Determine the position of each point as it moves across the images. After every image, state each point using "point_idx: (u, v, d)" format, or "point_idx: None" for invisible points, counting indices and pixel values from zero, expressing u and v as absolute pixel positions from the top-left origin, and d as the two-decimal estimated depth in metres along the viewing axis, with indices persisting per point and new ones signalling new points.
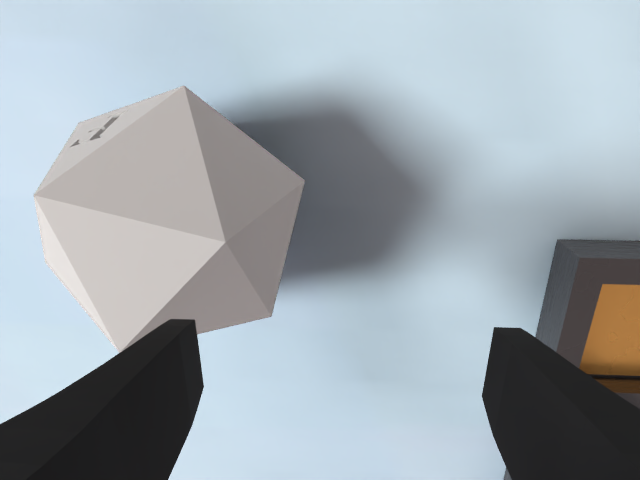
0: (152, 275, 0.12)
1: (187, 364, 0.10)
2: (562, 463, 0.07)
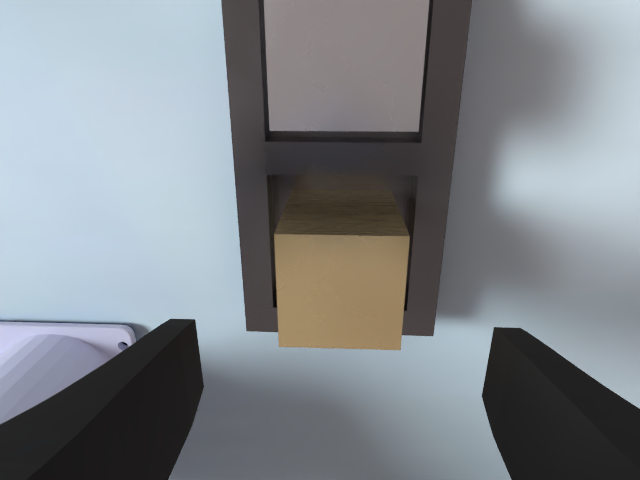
0: None
1: (187, 364, 0.10)
2: (562, 463, 0.07)
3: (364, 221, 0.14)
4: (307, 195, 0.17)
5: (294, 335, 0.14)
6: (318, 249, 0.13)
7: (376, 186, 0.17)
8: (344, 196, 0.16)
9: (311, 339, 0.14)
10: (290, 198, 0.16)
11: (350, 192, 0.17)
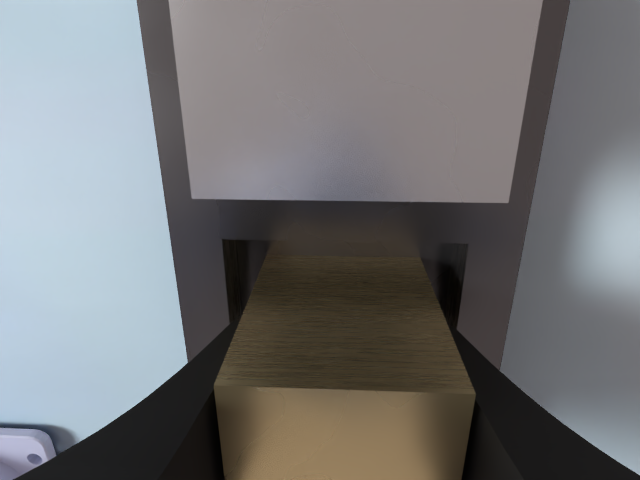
0: None
1: None
2: (469, 459, 0.07)
3: (385, 341, 0.08)
4: (289, 268, 0.10)
5: None
6: (299, 412, 0.07)
7: (397, 250, 0.11)
8: (347, 270, 0.10)
9: None
10: (261, 276, 0.10)
11: (356, 261, 0.11)
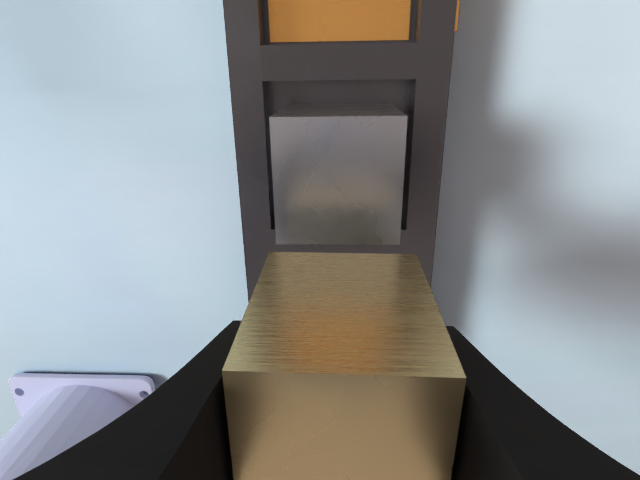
0: None
1: None
2: (469, 459, 0.07)
3: (381, 330, 0.08)
4: (290, 264, 0.11)
5: None
6: (302, 396, 0.07)
7: None
8: (346, 266, 0.11)
9: None
10: (264, 271, 0.11)
11: (355, 257, 0.11)
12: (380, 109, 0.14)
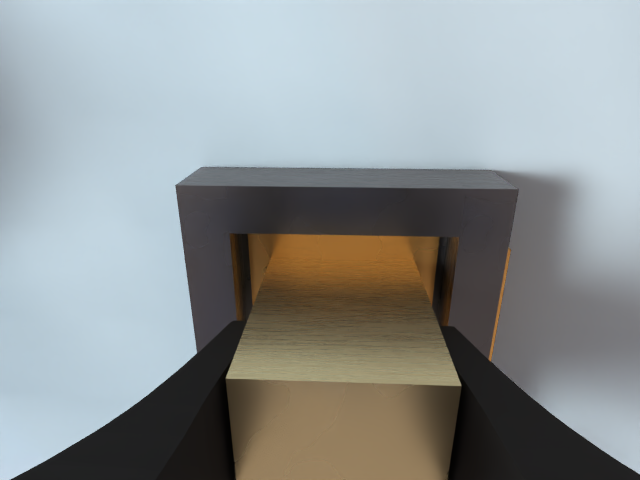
0: None
1: None
2: (470, 459, 0.07)
3: (380, 338, 0.08)
4: (291, 271, 0.11)
5: None
6: (302, 402, 0.07)
7: None
8: (346, 274, 0.11)
9: None
10: (265, 279, 0.11)
11: (355, 264, 0.12)
12: None
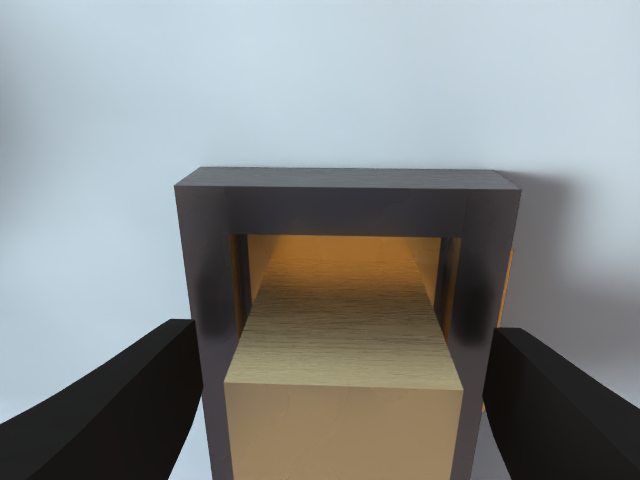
0: None
1: (187, 364, 0.10)
2: (562, 463, 0.07)
3: (380, 341, 0.08)
4: (291, 272, 0.11)
5: None
6: (302, 406, 0.07)
7: None
8: (346, 275, 0.11)
9: None
10: (264, 280, 0.11)
11: (355, 265, 0.12)
12: None
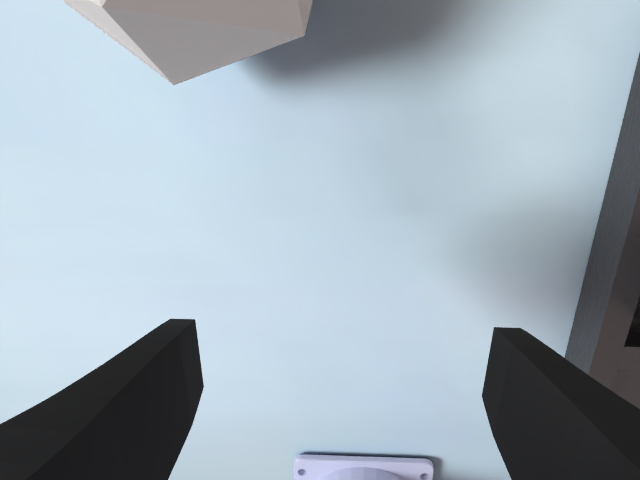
0: None
1: (187, 364, 0.10)
2: (562, 463, 0.07)
3: None
4: None
5: None
6: None
7: None
8: None
9: None
10: None
11: None
12: None
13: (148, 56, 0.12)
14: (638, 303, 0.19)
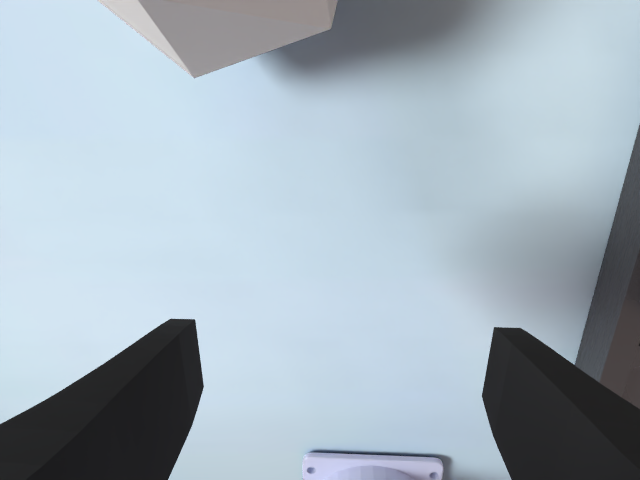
0: None
1: (187, 364, 0.10)
2: (562, 463, 0.07)
3: None
4: None
5: None
6: None
7: None
8: None
9: None
10: None
11: None
12: None
13: (173, 48, 0.12)
14: None
